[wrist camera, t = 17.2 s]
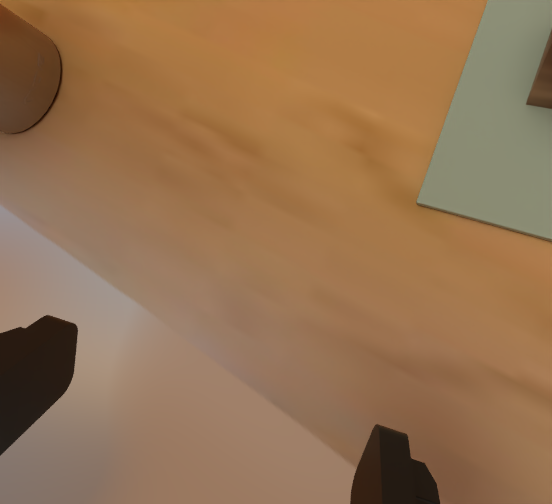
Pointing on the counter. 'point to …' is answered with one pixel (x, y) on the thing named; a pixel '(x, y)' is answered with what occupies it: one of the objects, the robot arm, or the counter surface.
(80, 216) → the counter surface
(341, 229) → the counter surface
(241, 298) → the counter surface
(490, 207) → the mat
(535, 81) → the walnut block
